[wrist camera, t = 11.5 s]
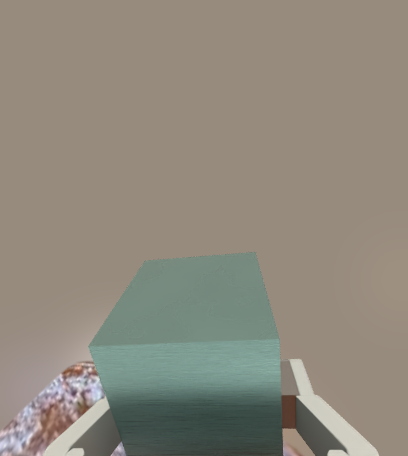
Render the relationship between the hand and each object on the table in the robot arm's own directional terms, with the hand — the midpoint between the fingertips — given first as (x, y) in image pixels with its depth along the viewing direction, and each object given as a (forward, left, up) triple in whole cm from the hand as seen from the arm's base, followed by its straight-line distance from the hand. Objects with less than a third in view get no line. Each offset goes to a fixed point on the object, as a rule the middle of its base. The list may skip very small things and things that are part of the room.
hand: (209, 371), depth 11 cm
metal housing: (0, -1, -6) cm, 6 cm away
